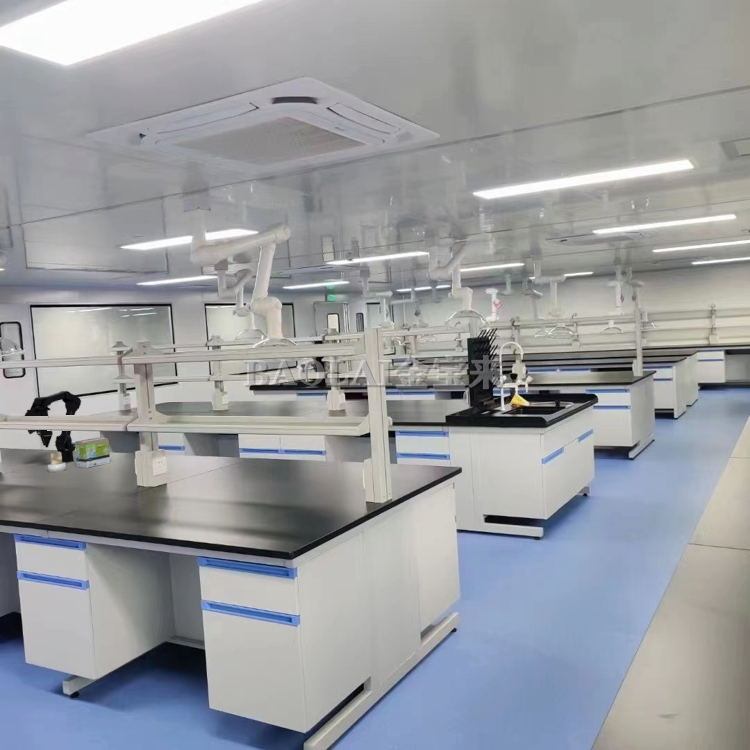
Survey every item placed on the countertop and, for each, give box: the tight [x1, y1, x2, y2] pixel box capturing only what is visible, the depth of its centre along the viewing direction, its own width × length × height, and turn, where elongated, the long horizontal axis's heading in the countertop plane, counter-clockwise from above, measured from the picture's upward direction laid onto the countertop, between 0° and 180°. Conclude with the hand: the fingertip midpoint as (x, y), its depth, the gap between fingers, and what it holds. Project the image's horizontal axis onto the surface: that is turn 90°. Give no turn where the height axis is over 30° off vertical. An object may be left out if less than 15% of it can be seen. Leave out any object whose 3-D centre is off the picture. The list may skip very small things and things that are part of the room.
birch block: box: [49, 451, 62, 465], centre depth 367 cm, size 5×5×6 cm
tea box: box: [74, 437, 111, 469], centre depth 377 cm, size 15×10×15 cm, turn 148°
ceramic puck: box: [47, 462, 67, 473], centre depth 367 cm, size 9×9×4 cm
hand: (45, 446), depth 378 cm, fingers open, 9 cm apart
